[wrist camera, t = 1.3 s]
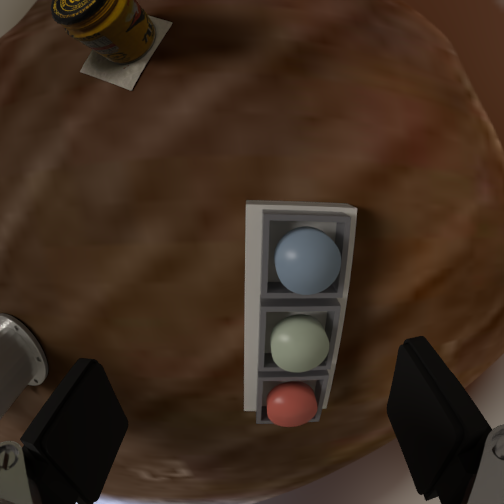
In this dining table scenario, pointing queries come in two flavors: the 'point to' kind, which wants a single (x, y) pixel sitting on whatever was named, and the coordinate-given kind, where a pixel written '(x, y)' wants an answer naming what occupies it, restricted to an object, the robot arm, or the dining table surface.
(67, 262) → the dining table surface
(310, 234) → the blue button
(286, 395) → the red button
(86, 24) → the condiment
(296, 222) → the button housing
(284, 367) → the sage button
